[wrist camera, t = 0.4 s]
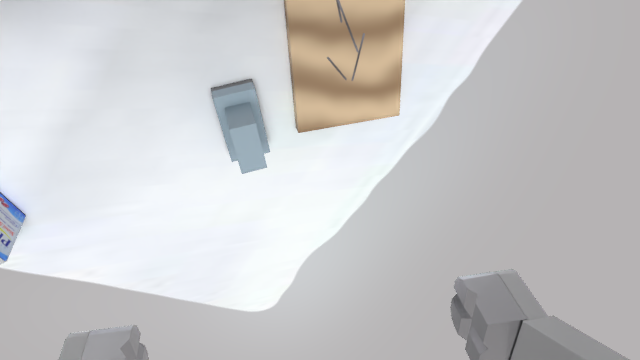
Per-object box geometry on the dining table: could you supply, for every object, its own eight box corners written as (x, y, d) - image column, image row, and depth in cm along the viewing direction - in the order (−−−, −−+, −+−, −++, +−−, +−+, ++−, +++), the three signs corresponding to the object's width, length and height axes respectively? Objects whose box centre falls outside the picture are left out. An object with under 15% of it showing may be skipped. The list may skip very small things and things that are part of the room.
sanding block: (210, 88, 58) (216, 120, 51) (251, 78, 58) (262, 108, 51) (229, 149, 63) (236, 186, 56) (266, 140, 64) (277, 175, 57)
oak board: (274, -98, 48) (277, -97, 47) (404, -109, 51) (410, -108, 49) (296, 127, 63) (298, 133, 62) (395, 110, 66) (399, 115, 65)
